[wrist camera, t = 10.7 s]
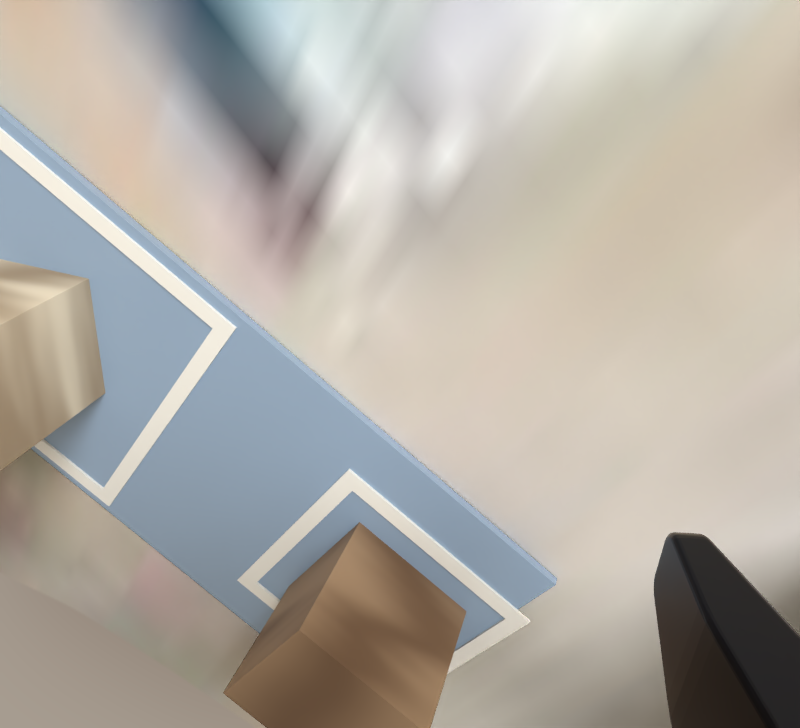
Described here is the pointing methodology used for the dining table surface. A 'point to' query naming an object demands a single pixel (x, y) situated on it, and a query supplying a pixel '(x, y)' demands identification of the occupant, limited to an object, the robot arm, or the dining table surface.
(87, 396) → the beech block
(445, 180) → the dining table surface
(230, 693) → the walnut cube
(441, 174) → the dining table surface
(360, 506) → the blueprint mat
